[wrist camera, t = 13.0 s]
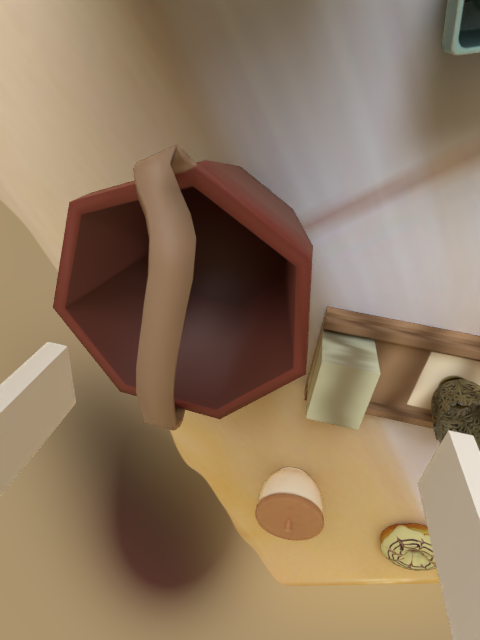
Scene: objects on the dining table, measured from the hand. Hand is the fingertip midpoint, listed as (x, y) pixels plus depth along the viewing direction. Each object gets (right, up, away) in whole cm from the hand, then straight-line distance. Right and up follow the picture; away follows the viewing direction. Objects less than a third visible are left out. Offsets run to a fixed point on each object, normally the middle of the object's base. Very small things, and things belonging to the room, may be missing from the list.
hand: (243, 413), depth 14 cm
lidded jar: (+9, -24, +54) cm, 60 cm away
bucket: (-1, +13, +34) cm, 36 cm away
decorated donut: (+31, -35, +56) cm, 73 cm away
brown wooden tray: (+22, -3, +38) cm, 44 cm away
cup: (+27, -5, +36) cm, 45 cm away
